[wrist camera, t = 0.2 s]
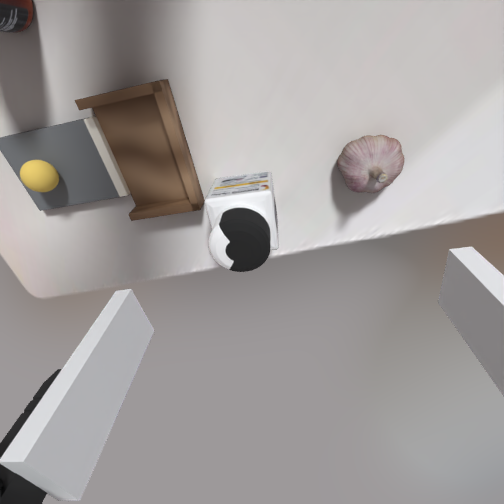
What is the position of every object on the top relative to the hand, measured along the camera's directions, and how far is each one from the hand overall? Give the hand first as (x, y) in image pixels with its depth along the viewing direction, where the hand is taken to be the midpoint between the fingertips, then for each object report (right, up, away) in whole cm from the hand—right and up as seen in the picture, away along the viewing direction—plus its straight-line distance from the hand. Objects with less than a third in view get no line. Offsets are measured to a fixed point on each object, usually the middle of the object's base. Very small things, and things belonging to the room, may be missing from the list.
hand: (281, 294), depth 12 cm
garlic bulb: (+13, +14, +24) cm, 31 cm away
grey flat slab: (-26, +14, +26) cm, 39 cm away
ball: (-28, +11, +24) cm, 39 cm away
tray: (-14, +15, +25) cm, 32 cm away
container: (-2, +9, +28) cm, 29 cm away
